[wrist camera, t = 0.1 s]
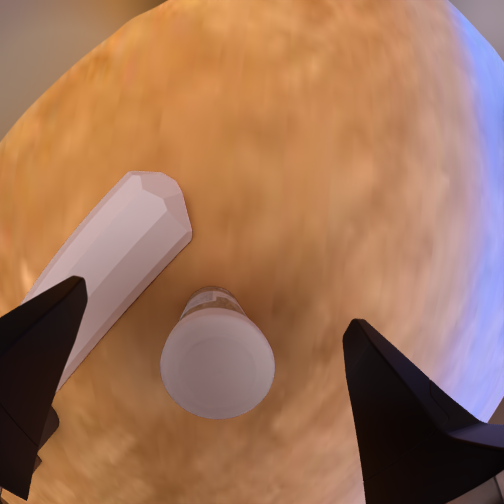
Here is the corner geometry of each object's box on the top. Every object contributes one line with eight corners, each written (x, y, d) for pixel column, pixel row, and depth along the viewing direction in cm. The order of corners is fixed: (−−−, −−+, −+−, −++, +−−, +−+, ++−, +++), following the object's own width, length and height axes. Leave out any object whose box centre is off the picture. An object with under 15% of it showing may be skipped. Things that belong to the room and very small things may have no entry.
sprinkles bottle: (249, 323, 24) (296, 390, 11) (201, 349, 24) (198, 439, 10) (223, 275, 24) (242, 293, 11) (173, 301, 23) (135, 349, 10)
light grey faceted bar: (126, 130, 20) (-29, 339, 17) (175, 168, 17) (-10, 406, 14) (168, 182, 26) (26, 353, 23) (217, 225, 23) (51, 410, 20)
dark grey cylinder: (65, 429, 21) (19, 489, 10) (40, 432, 21) (-8, 485, 10) (46, 395, 21) (-11, 447, 10) (22, 400, 20) (-35, 446, 10)
